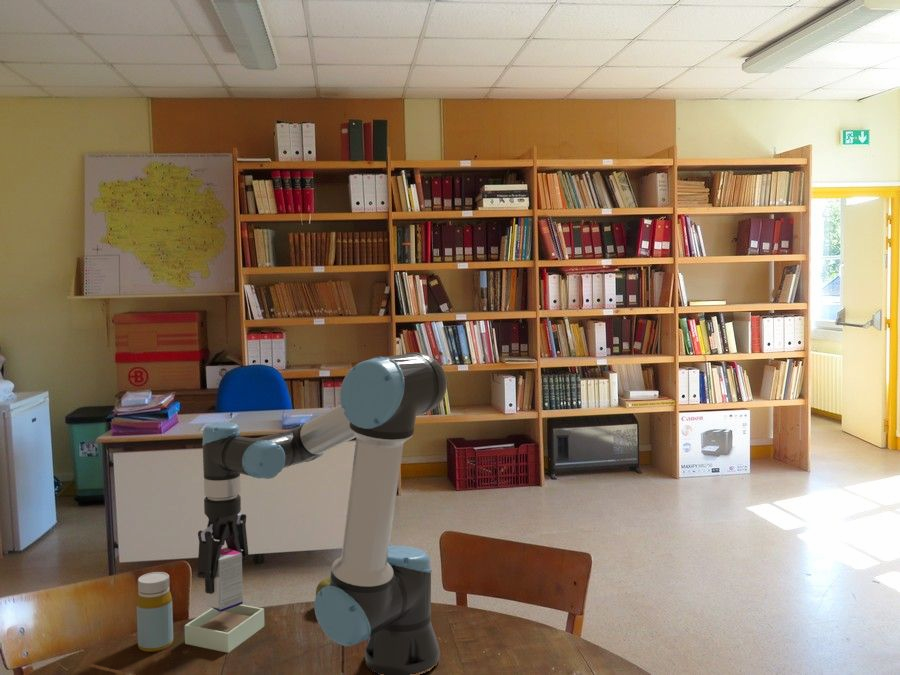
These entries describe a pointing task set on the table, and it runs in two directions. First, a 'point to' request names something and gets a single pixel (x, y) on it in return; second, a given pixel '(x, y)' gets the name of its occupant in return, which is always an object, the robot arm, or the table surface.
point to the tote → (223, 639)
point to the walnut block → (225, 621)
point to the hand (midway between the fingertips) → (224, 598)
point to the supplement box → (229, 579)
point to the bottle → (154, 612)
